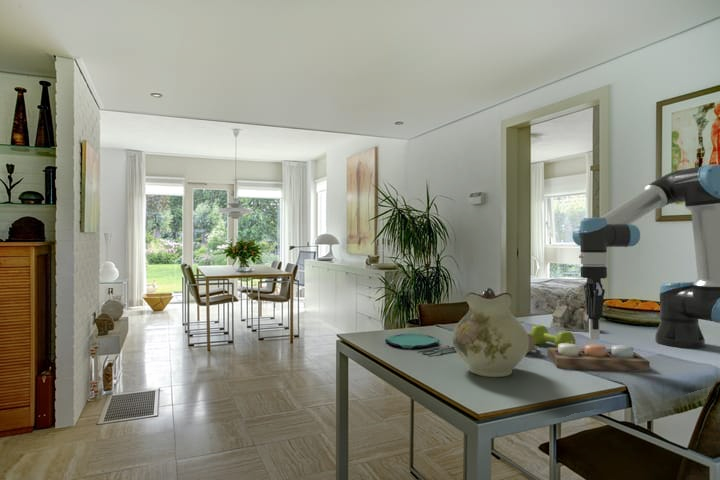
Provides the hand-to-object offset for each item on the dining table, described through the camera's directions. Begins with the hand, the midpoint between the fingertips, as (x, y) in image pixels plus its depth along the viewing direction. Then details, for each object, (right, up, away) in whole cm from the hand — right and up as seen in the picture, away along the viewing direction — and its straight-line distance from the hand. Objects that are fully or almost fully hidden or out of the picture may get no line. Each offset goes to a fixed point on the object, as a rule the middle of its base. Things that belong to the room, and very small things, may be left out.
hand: (594, 338), depth 142 cm
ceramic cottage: (+19, -8, +55) cm, 58 cm away
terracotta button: (0, -6, 0) cm, 6 cm away
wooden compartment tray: (0, -8, 0) cm, 8 cm away
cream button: (-8, -7, +2) cm, 10 cm away
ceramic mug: (-17, -9, +17) cm, 26 cm away
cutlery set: (-53, -10, +27) cm, 60 cm away
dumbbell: (-4, -8, +21) cm, 23 cm away
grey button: (+8, -6, -2) cm, 10 cm away
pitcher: (-36, -9, -6) cm, 37 cm away
